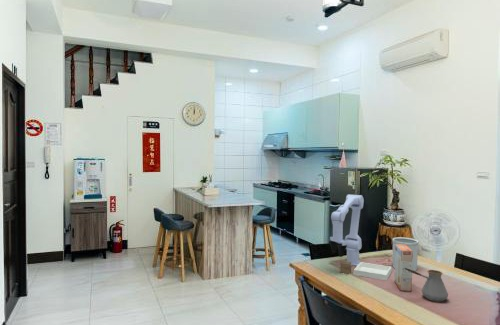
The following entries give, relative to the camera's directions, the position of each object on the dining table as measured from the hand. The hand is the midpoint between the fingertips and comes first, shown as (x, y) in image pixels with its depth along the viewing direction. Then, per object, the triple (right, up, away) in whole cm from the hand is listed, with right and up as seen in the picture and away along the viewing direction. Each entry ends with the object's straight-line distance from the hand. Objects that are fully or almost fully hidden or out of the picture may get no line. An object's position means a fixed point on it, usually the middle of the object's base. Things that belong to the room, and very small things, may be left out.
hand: (337, 254), depth 208 cm
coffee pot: (+32, -11, -39) cm, 52 cm away
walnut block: (+5, -10, -1) cm, 11 cm away
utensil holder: (+44, -11, +9) cm, 46 cm away
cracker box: (+29, -11, -23) cm, 39 cm away
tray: (+20, -10, -2) cm, 23 cm away
